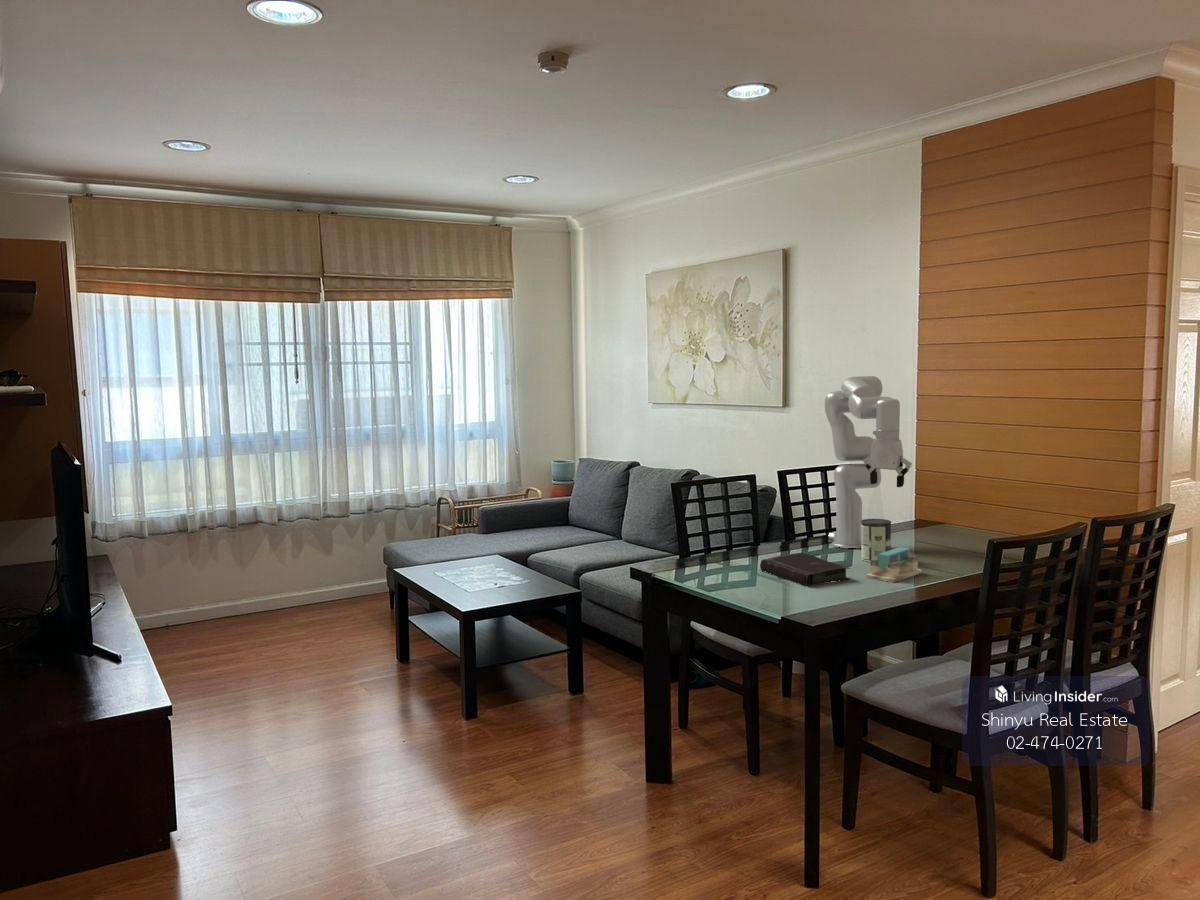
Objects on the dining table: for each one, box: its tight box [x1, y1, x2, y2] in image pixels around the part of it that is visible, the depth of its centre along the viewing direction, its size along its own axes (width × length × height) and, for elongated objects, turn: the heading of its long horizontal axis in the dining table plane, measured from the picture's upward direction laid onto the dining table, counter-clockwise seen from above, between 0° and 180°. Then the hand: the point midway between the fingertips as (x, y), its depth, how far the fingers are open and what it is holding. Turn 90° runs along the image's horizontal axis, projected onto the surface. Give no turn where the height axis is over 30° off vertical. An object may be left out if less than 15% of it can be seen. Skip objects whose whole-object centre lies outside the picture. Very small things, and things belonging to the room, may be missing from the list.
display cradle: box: [865, 555, 923, 584], centre depth 284 cm, size 10×18×6 cm, turn 132°
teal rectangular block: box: [878, 547, 911, 568], centre depth 284 cm, size 4×14×4 cm, turn 132°
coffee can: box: [860, 518, 892, 563], centre depth 306 cm, size 10×10×14 cm
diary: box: [759, 551, 851, 587], centre depth 288 cm, size 19×25×5 cm
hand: (886, 485), depth 292 cm, fingers open, 9 cm apart
